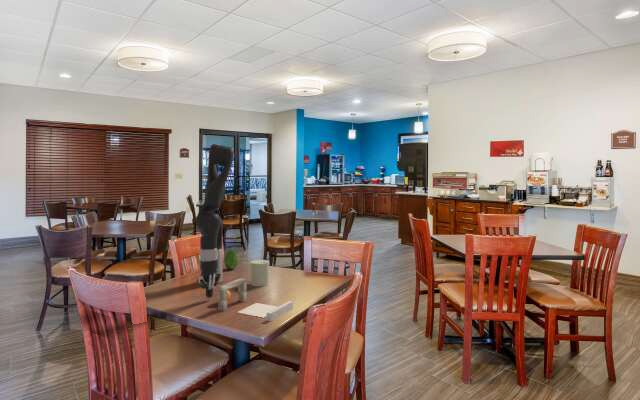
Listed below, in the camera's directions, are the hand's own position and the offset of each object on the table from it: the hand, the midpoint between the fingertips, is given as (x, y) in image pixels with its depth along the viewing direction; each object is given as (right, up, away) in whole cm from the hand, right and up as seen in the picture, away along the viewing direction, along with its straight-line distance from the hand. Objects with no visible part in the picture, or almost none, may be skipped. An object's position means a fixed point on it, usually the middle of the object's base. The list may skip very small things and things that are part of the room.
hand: (209, 297), depth 173 cm
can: (+18, 0, +27) cm, 32 cm away
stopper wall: (+33, -3, -17) cm, 37 cm away
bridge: (+12, -2, -6) cm, 13 cm away
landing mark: (+24, -2, -12) cm, 27 cm away
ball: (+7, +1, -3) cm, 8 cm away
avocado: (-4, +2, +58) cm, 58 cm away
